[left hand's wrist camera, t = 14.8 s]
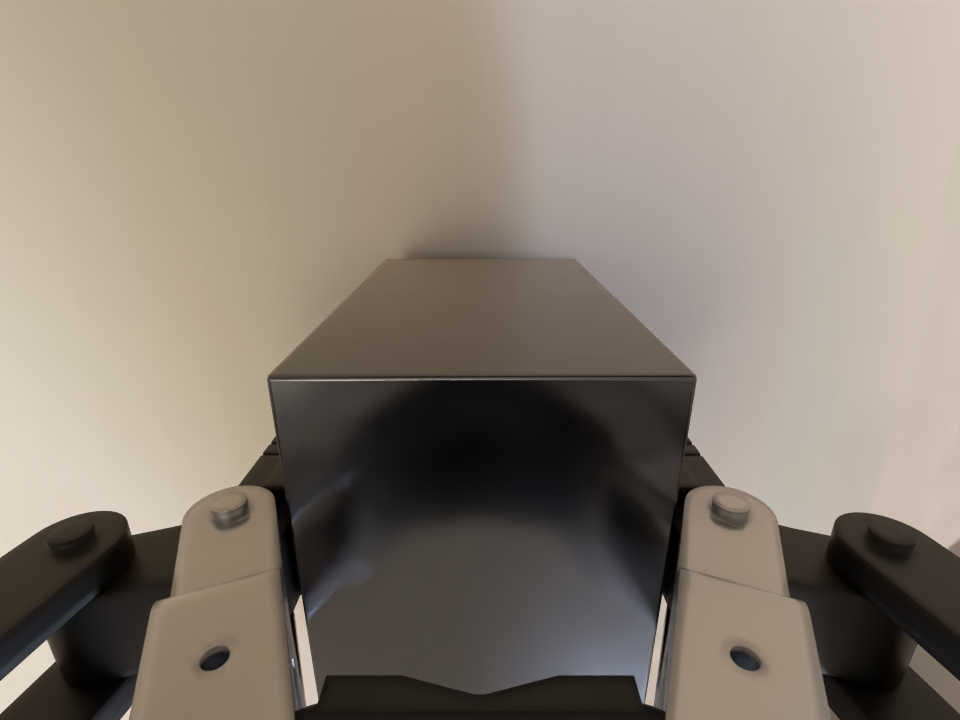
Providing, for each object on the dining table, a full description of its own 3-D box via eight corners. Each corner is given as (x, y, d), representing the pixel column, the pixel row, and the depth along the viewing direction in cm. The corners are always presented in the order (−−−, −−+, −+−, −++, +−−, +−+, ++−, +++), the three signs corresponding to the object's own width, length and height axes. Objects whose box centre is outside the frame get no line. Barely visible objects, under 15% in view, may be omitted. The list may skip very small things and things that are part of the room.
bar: (385, 258, 15) (264, 376, 7) (575, 258, 15) (700, 375, 7) (419, 769, 23) (384, 1116, 15) (542, 769, 23) (579, 1116, 15)
